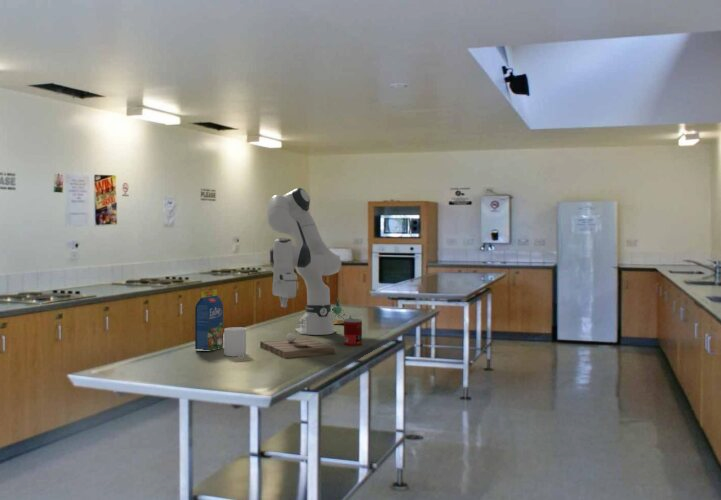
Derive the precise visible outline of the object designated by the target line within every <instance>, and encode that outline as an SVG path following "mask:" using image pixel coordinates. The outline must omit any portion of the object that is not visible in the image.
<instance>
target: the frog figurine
mask: <svg viewBox="0 0 721 500" xmlns="http://www.w3.org/2000/svg"><path fill="white" fill-rule="evenodd" d="M339 301H340V299H339V297H338V298H337V299H336V303H334V304H333V307H332V308H331V311H330V313H331V314H333V322H334V325H340V324H344V320H345V319H344V316H345V317H347V315H346V314H345V313H343V312H345V311H344V309H343V308H342V307H341V305H340V304H339V303H340V302H339ZM342 313H343V315H342V316H341V314H342ZM336 316H337V317H338V319H336ZM348 319H353V317H352V316H351V315H349V317H348Z"/></svg>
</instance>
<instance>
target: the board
mask: <svg viewBox="0 0 721 500" xmlns="http://www.w3.org/2000/svg"><path fill="white" fill-rule="evenodd" d="M259 344H260V345H259V347H260V348H261V349H263V350H265V351H267V352H269V351H270V353H272V354H274V355H276V356H279V357H281V358H282V359H291V358H300V357H312V356H322V355H323V356H325V355H326V356H327V355H333V354H335V353H336V351H335V349H336V348H335V347H334V346H331V345H328V344H325V343H323V342H320V341H317V340H314V339H312V338H309V337H306V338H305V337H304V338H296V339H295V341H294V342H288V341H287V339H278V340H277V339H276V340H275V339H274V340H262V341H260V343H259Z"/></svg>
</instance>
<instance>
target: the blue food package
mask: <svg viewBox="0 0 721 500" xmlns="http://www.w3.org/2000/svg"><path fill="white" fill-rule="evenodd" d="M200 293H201V295H200V296H201V297H200V299H199V300H198V301H197V303H196V304H195V309H194V310H195V311H194V312H195V314H194V316H195V317H194V320H195V321H194V326H195V327H194V331H195V334H194V340H195V342H194V343H195V346H194V349H203V350H213V349H217V350H219V349H218V348H220V349H222V348H224V305H223V301H222V300H221V299H220V297H219V296H218V289H217V288H216V289H210V290H209V289H208V290H204V291H201V292H200ZM213 351H214V350H213Z"/></svg>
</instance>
